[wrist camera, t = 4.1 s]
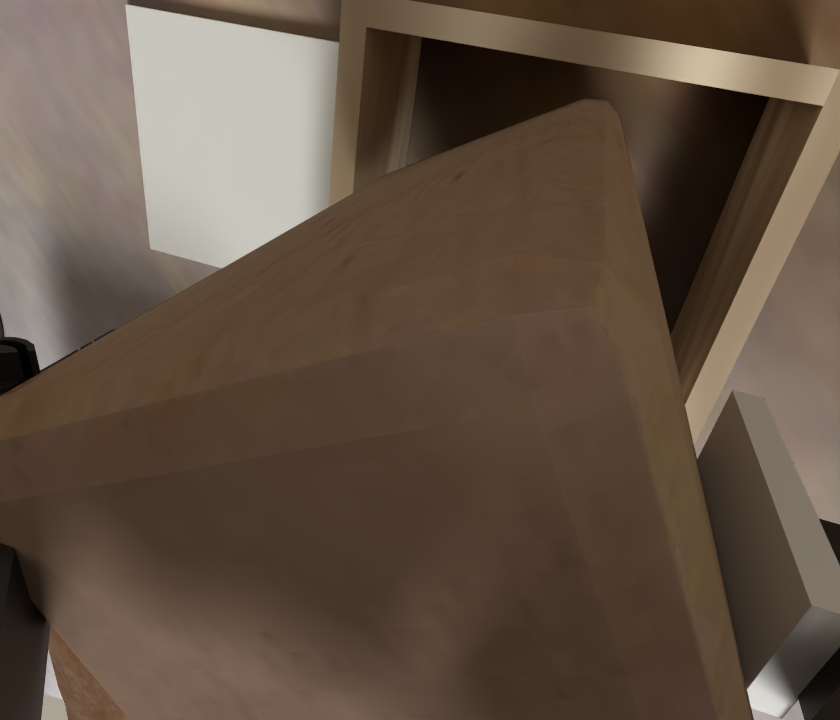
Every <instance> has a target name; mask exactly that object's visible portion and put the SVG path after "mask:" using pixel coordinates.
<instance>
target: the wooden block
mask: <svg viewBox="0 0 840 720" xmlns="http://www.w3.org/2000/svg"><path fill="white" fill-rule="evenodd" d="M0 543H2V544H5V545H8V546H10V547H13V548H15V551H16V554H17V557H18V560H19V563H20V567H21V570H22V573H23V576H24V579H25V582H26V586H27V589H28V592H29V595H30V598H31V600H32V602H33V603H34V604H35V605H36V607H37V608H38V609H39V611H40V612H41V613H42V614H43V616H44V617H45V618H46V620H47V621H48V622H49V623H50V624H51V626H52V627H53V628H54V629H55V630H56V632H57V633H58V634H59V635H60V636H61V638H62V639H63V640H64V641H65V642H66V644H67V645H68V646H69V647H70V648H71V650H72V651H73V652H74V653H75V654H76V656H77V657H78V658H79V659H80V661H81V662H82V663H83V664H84V665H85V667H86V668H87V669H88V670H89V671H90V673H91V674H92V675H93V676H94V677H95V679H96V680H97V681H98V682H99V683H100V685H101V686H102V687H103V688H104V689H105V691H106V692H107V693H108V694H109V695H110V697H111V698H112V699H113V700H114V701H115V703H116V704H117V705H118V706H119V707H120V709H121V710H122V711H123V712H124V713H125V715H126V716H127V717H128V718H129V719H130V720H754V719H753V715H752V710H751V705H750V701H749V696H748V692H747V687H746V682H745V678H744V673H743V669H742V664H741V659H740V655H739V650H738V646H737V641H736V637H735V632H734V627H733V623H732V618H731V614H730V609H729V604H728V600H727V595H726V591H725V586H724V581H723V577H722V572H721V568H720V563H719V559H718V554H717V549H716V545H715V540H714V536H713V531H712V526H711V522H710V517H709V513H708V508H707V503H706V499H705V494H704V490H703V485H702V481H701V476H700V471H699V467H698V462H697V458H696V453H695V448H694V444H693V439H692V435H691V430H690V425H689V421H688V416H687V412H686V407H685V403H684V398H683V393H682V389H681V384H680V380H679V375H678V370H677V366H676V361H675V357H674V352H673V347H672V343H671V338H670V334H669V329H668V325H667V320H666V316H665V311H664V307H663V303H662V298H661V294H660V289H659V285H658V281H657V276H656V272H655V268H654V263H653V259H652V255H651V250H650V246H649V242H648V237H647V233H646V229H645V224H644V220H643V216H642V211H641V207H640V202H639V198H638V194H637V189H636V185H635V181H634V176H633V172H632V168H631V163H630V159H629V155H628V150H627V146H626V142H625V137H624V133H623V129H622V124H621V120H620V116H619V115H618V114H617V112H616V111H615V110H614V108H613V107H612V106H611V105H610V103H609V102H608V101H607V99H586V98H584V99H581V100H578V101H576V102H573V103H571V104H568V105H565V106H563V107H560V108H557V109H555V110H552V111H550V112H547V113H544V114H542V115H539V116H537V117H534V118H531V119H529V120H526V121H524V122H521V123H518V124H516V125H513V126H510V127H508V128H505V129H503V130H500V131H497V132H495V133H492V134H490V135H487V136H484V137H482V138H479V139H477V140H474V141H471V142H469V143H466V144H463V145H461V146H458V147H456V148H453V149H450V150H448V151H445V152H443V153H440V154H437V155H435V156H432V157H429V158H427V159H424V160H422V161H419V162H416V163H414V164H411V165H409V166H406V167H403V168H401V169H398V170H396V171H393V172H390V173H388V174H385V175H384V176H382V177H380V178H378V179H377V180H375V181H373V182H371V183H370V184H368V185H366V186H365V187H363V188H361V189H359V190H358V191H356V192H354V193H352V194H351V195H349V196H347V197H345V198H344V199H342V200H340V201H338V202H337V203H335V204H333V205H331V206H330V207H328V208H326V209H325V210H323V211H321V212H319V213H318V214H316V215H314V216H312V217H311V218H309V219H307V220H305V221H304V222H302V223H300V224H298V225H297V226H295V227H293V228H292V229H290V230H288V231H286V232H285V233H283V234H281V235H279V236H278V237H276V238H274V239H272V240H271V241H269V242H267V243H265V244H264V245H262V246H260V247H259V248H257V249H255V250H253V251H252V252H250V253H248V254H246V255H245V256H243V257H241V258H239V259H238V260H236V261H234V262H232V263H231V264H229V265H227V266H225V267H224V268H222V269H220V270H219V271H217V272H215V273H213V274H212V275H210V276H208V277H206V278H205V279H203V280H201V281H199V282H198V283H196V284H194V285H192V286H191V287H189V288H187V289H186V290H184V291H182V292H180V293H179V294H177V295H175V296H173V297H172V298H170V299H168V300H166V301H165V302H163V303H161V304H159V305H158V306H156V307H154V308H152V309H151V310H149V311H147V312H146V313H144V314H142V315H140V316H139V317H137V318H135V319H133V320H132V321H130V322H128V323H126V324H125V325H123V326H121V327H119V328H118V329H116V330H114V331H113V332H111V333H109V334H107V335H106V336H104V337H102V338H100V339H99V340H97V341H95V342H93V343H92V344H90V345H88V346H86V347H85V348H83V349H81V350H79V351H78V352H76V353H74V354H73V355H71V356H69V357H67V358H66V359H64V360H62V361H60V362H59V363H57V364H55V365H53V366H52V367H50V368H48V369H46V370H45V371H43V372H41V373H40V374H38V375H36V376H34V377H33V378H31V379H29V380H27V381H26V382H24V383H22V384H20V385H19V386H17V387H15V388H13V389H12V390H10V391H8V392H6V393H5V394H3V395H1V396H0Z"/></svg>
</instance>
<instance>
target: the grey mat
mask: <svg viewBox="0 0 840 720" xmlns="http://www.w3.org/2000/svg"><path fill="white" fill-rule="evenodd" d="M126 15H127V25H128V35H129V45H130V55H131V64H132V74H133V84H134V94H135V104H136V114H137V124H138V133H139V143H140V153H141V163H142V173H143V183H144V193H145V202H146V212H147V222H148V232H149V242H150V249H152V250H156V251H160V252H163V253H167V254H171V255H174V256H178V257H182V258H186V259H189V260H193V261H197V262H201V263H204V264H208V265H212V266H216V267H219V268H224V267H225V266H227V265H229V264H231V263H232V262H234V261H236V260H238V259H239V258H241V257H243V256H245V255H246V254H248V253H250V252H252V251H253V250H255V249H257V248H259V247H260V246H262V245H264V244H265V243H267V242H269V241H271V240H272V239H274V238H276V237H278V236H279V235H281V234H283V233H285V232H286V231H288V230H290V229H292V228H293V227H295V226H297V225H298V224H300V223H302V222H304V221H305V220H307V219H309V218H311V217H312V216H314V215H316V214H318V213H319V212H321V211H323V210H325V209H326V208H328V207H329V196H330V180H331V164H332V148H333V132H334V116H335V100H336V83H337V67H338V51H339V42H335V41H330V40H324V39H319V38H313V37H308V36H302V35H296V34H291V33H285V32H280V31H274V30H269V29H263V28H257V27H252V26H246V25H241V24H235V23H230V22H224V21H218V20H213V19H207V18H202V17H196V16H191V15H185V14H179V13H174V12H168V11H163V10H157V9H152V8H146V7H141V6H135V5H126Z"/></svg>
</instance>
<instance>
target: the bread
mask: <svg viewBox="0 0 840 720" xmlns="http://www.w3.org/2000/svg"><path fill="white" fill-rule="evenodd" d="M48 649H49V653H50V657H51V660H52V664H53V668H54V672H55V676H56V679H57V683H58V687H59V690H60V692H61V695H62V698H63V700H64V703H65V705H66V710H67V716H68V720H130V719H129V718H128V717H127V716H126V715H125V713H124V712H123V711H122V710H121V709H120V707H119V706H118V705H117V704H116V703H115V701H114V700H113V699H112V698H111V697H110V695H109V694H108V693H107V692H106V691H105V689H104V688H103V687H102V686H101V685H100V683H99V682H98V681H97V680H96V679H95V677H94V676H93V675H92V674H91V673H90V671H89V670H88V669H87V668H86V667H85V665H84V664H83V663H82V662H81V661H80V659H79V658H78V657H77V656H76V654H75V653H74V652H73V651H72V650H71V648H70V647H69V646H68V645H67V644H66V642H65V641H64V640H63V639H62V638H61V636H60V635H59V634H58V633H57V632H56V630H55V629H54V628H53V627H52V626H51V624H50V634H49V644H48Z"/></svg>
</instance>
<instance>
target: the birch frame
mask: <svg viewBox="0 0 840 720" xmlns="http://www.w3.org/2000/svg"><path fill="white" fill-rule="evenodd" d="M422 37H427V38H432V39H438V40H444V41H450V42H456V43H461V44H467V45H473V46H479V47H485V48H490V49H496V50H502V51H508V52H514V53H519V54H525V55H531V56H537V57H542V58H548V59H554V60H560V61H566V62H571V63H577V64H583V65H589V66H595V67H600V68H606V69H612V70H618V71H623V72H629V73H635V74H641V75H647V76H652V77H658V78H664V79H670V80H676V81H681V82H687V83H693V84H699V85H704V86H710V87H716V88H722V89H728V90H733V91H739V92H745V93H751V94H757V95H762V96H768V97H769V100H768V102H767V104H766V107H765V109H764V112H763V114H762V116H761V119H760V121H759V124H758V126H757V129H756V131H755V133H754V136H753V138H752V141H751V143H750V145H749V148H748V150H747V153H746V155H745V157H744V160H743V162H742V165H741V167H740V169H739V172H738V174H737V177H736V179H735V182H734V184H733V186H732V189H731V191H730V194H729V196H728V198H727V201H726V203H725V206H724V208H723V210H722V213H721V215H720V218H719V220H718V222H717V225H716V227H715V230H714V232H713V235H712V237H711V239H710V242H709V244H708V247H707V249H706V251H705V254H704V256H703V259H702V261H701V263H700V266H699V268H698V271H697V273H696V275H695V278H694V280H693V283H692V285H691V288H690V290H689V292H688V295H687V297H686V300H685V302H684V304H683V307H682V309H681V312H680V314H679V316H678V319H677V321H676V324H675V326H674V328H673V331H672V333H671V336H670V338H671V343H672V347H673V352H674V357H675V361H676V366H677V370H678V375H679V380H680V384H681V389H682V393H683V398H684V403H685V407H686V412H687V416H688V421H689V425H690V430H691V435H692V439H693V444H694V445H695V443H696V441H697V439H698V437H699V435H700V433H701V431H702V429H703V427H704V425H705V423H706V421H707V419H708V417H709V415H710V413H711V411H712V409H713V406H714V404H715V402H716V400H717V398H718V396H719V394H720V392H721V390H722V388H723V386H724V384H725V382H726V380H727V378H728V376H729V374H730V372H731V370H732V368H733V366H734V364H735V362H736V360H737V358H738V356H739V354H740V352H741V350H742V348H743V346H744V344H745V342H746V340H747V338H748V336H749V334H750V332H751V330H752V328H753V325H754V323H755V321H756V319H757V317H758V315H759V313H760V311H761V309H762V307H763V305H764V303H765V301H766V299H767V297H768V295H769V293H770V291H771V289H772V287H773V285H774V283H775V281H776V279H777V277H778V275H779V273H780V271H781V269H782V267H783V265H784V263H785V261H786V259H787V257H788V255H789V253H790V251H791V249H792V247H793V244H794V242H795V240H796V238H797V236H798V234H799V232H800V230H801V228H802V226H803V224H804V222H805V220H806V218H807V216H808V214H809V212H810V210H811V208H812V206H813V204H814V202H815V200H816V198H817V196H818V194H819V192H820V190H821V188H822V186H823V184H824V182H825V180H826V178H827V176H828V174H829V172H830V170H831V168H832V165H833V163H834V161H835V159H836V157H837V155H838V153H839V151H840V70H838V69H832V68H826V67H820V66H813V65H807V64H801V63H795V62H789V61H782V60H776V59H770V58H764V57H758V56H751V55H745V54H739V53H733V52H727V51H720V50H714V49H708V48H702V47H696V46H689V45H683V44H677V43H671V42H665V41H658V40H652V39H646V38H640V37H634V36H627V35H621V34H615V33H609V32H603V31H596V30H590V29H584V28H578V27H572V26H565V25H559V24H553V23H547V22H541V21H534V20H528V19H522V18H516V17H510V16H503V15H497V14H491V13H485V12H479V11H472V10H466V9H460V8H454V7H448V6H441V5H435V4H429V3H423V2H417V1H410V0H342V3H341V19H340V35H339V51H338V67H337V83H336V100H335V116H334V132H333V148H332V164H331V180H330V196H329V207H330V206H331V205H333V204H335V203H337V202H338V201H340V200H342V199H344V198H345V197H347V196H349V195H351V194H352V193H354V192H356V191H358V190H359V189H361V188H363V187H365V186H366V185H368V184H370V183H371V182H373V181H375V180H377V179H378V178H380V177H382V176H384V175H385V174H388V173H390V172H393V171H396V170H398V169H401V168H403V167H406V163H407V155H408V147H409V139H410V131H411V123H412V115H413V107H414V100H415V92H416V84H417V76H418V68H419V60H420V52H421V44H422Z"/></svg>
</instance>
